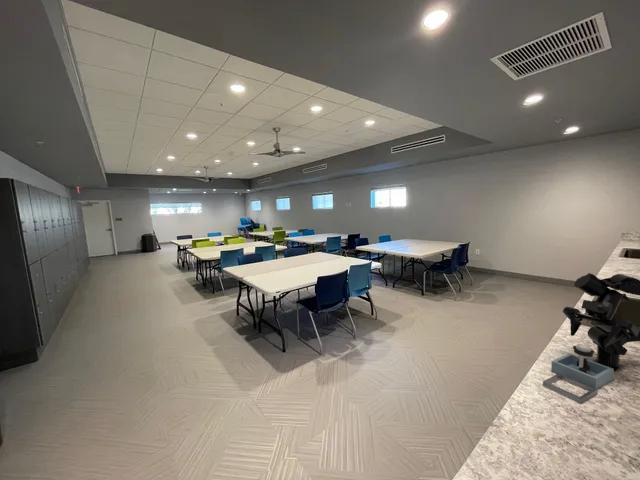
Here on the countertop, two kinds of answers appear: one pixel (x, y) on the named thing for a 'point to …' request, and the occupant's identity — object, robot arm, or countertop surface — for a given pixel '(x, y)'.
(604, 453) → the countertop surface
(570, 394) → the silver picture frame
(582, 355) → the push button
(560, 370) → the plastic bin
